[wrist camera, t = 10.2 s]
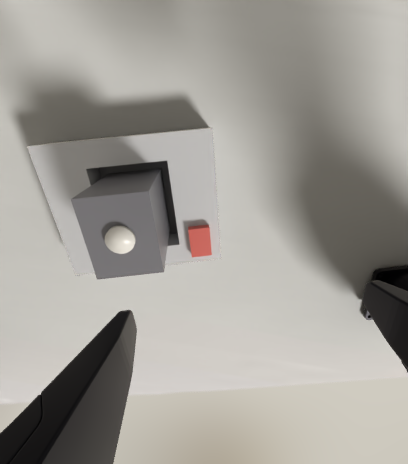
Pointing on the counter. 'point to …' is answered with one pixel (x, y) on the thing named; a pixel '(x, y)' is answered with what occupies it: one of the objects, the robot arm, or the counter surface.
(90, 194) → the plug
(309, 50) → the counter surface
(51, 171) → the socket
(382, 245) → the counter surface
